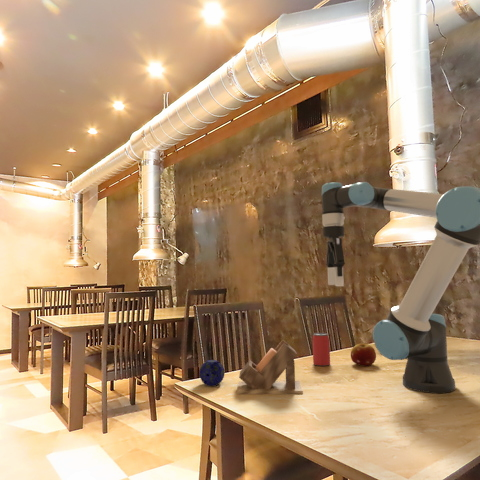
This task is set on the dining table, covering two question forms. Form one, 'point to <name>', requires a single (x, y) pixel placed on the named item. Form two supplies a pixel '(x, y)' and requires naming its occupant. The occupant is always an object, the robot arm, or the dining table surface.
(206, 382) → the ball
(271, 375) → the socket
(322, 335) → the beer can
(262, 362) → the peg
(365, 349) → the fruit
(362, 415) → the dining table surface
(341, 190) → the robot arm
